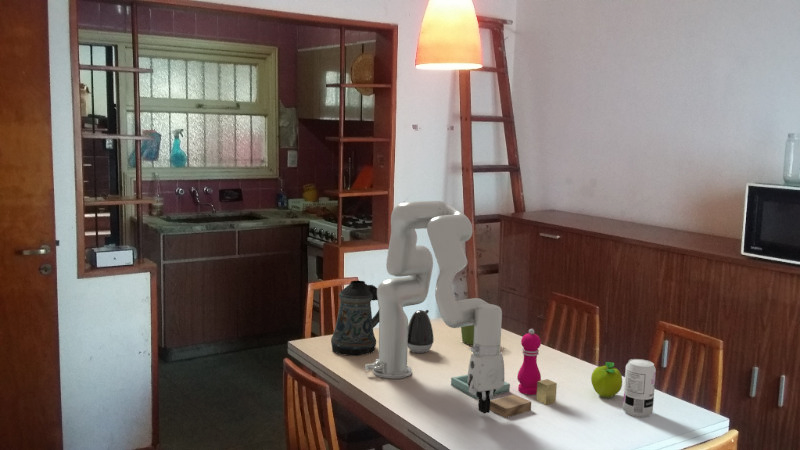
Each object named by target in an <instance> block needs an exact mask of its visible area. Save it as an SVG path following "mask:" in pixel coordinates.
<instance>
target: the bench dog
mask: <svg viewBox="0 0 800 450" xmlns="http://www.w3.org/2000/svg"><path fill="white" fill-rule="evenodd" d="M557 386H558V385H557V382H555V381H552V380H550V379H547V378H546V379H541V381H538V382H537V394H536V401H537V402H538V403H541V404H543V405H545V406H547V405H551V404H552V405H553V404H555V403H557V388H558V387H557Z"/></svg>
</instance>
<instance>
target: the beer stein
mask: <svg viewBox="0 0 800 450" xmlns="http://www.w3.org/2000/svg"><path fill="white" fill-rule="evenodd" d="M377 288H378V287H377V286H375V285H373V284H367V283H366V281H364V280H351V281H350V283H349V284H348V285H347V286H345V287H344V288H343V289H341V291H339V293H338V297H339V302H340V303H339V307H338V311H337V312H338V313H337V319H336V323H335V327H334V331H333V334H332V336H331V339H330V342H331V348H332V351H333V353H335V354H337V355H341V356H342V355H343V356H347V357H348V356H351V357H352V356H353V357H354V356H355V357H357V356H358V357H359V356H360V357H361V356H366V355H369V354H372V353H374V352H375V350H376V345H377V339H376V336H375V333H374V328H375V327H376V326H377V325H378V324H379V309H378V310H377V311H376V313H375V314H374V316H373V315H372V314H373V313H372V306H371V305H372V303H371V302H373V301H378V299H377ZM373 351H374V352H373Z"/></svg>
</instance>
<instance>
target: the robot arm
mask: <svg viewBox="0 0 800 450" xmlns="http://www.w3.org/2000/svg"><path fill="white" fill-rule="evenodd" d="M421 229H422V230H423V229H424V230H425V229H426V231H427V235H428V238H429V241H430V245H431V248H432V250H433V253H434V256H435V259H436V262H437V264H438V267H439V274H438V276H437V279H436V282H435V289H434V290H435V294H434V295H435V303H436V304H437V305H436V306H437V309H438V312H439V313H440V317H441V318H442V321H443V322H444V324H445V325H446V326H448V327H449V328H453V329H458V328H461V327H465V326H470V325H474V343H473V345H472V346H471V347H470V351H471V354H470V358H469V363H468V371H467V375H468V387H469V391H468V392H469V394H471V395H476V396H477V397H478V403H477V404H478V405H477V407H478V408H477V409H478V411H479V412H481V413H482V414H490V412H491V410H490V401H491V400H493V397H494V395H493V394H494V393H495V391H497V390H499V389H501V387H503V385H504V381H505V361H504V355H503V353H502V352H501V346H502V345H501V341H502V340H501V339H502V323H503V322H502V320H503V311H502V308H501V307H500V306H499V305H496V304H492V303H488V302H486V300H484V299H481V298H478V297H475V298H474V297H473V298H467V299H466V298H465V299H461V300H460V299H459V300H456V298H455V295H454V292H453V281H454V278H455V277H456V274H458V273H459V272H461V271H462V270H463V269H464V268H466V266H467V265H468V257H467V256H466V253H465V250H464V247H463V244H462V243H463V242H468V241H469V240H470V239H471V237H472V236H473V231H474V229H473V224H472V222H471V220H470V218H469V217H468V216H467V215H465V214H464V213H463V212H461V211H460V210H458V209H457V208H455V207H453V206H452V205H450V204H448V203H447V202H444V201H441V200H428V201H427V200H425V201H424V200H423V201H419V200H417V201H408V202H401V203H399V204H397V205H395V207H394V208H393V210H392V212H391V216H390V238H389V244H388V251H387V258H386V267H385V268H386V271H387V273H388V274H389V275H390V276H392V277H393V278H388V279H385V280H384V281H382V282H380V283H379V284H378V286H377V287H376V288H377V299H378V300H377V305H378V310H379V323H378V324H379V326H378V358H375V361H374V362H373V363H366V364H365V365H364V369H365V370H366V371H370V370H372V371H373V374H374V375H375V376H377V377H380V378H383V379H403V378H404V379H405V378H408V377H409V376H411V375H412V370H413V369H412V368H411V367H410V366H409V365H408V350H409V348H408V325H409V319H408V316H407V314H406V311H404V309H403V308H404V307H409V306H415V305H420V304H422V303H424V302H425V300H427V298H428V294H429V289H430V285H431V279H432V273H433V267H434V258H433V254H432V252H431V250H430V249H429V248H428V247H426V246H425V245H418V244H417V242H418V234H417V231H416V230H421Z"/></svg>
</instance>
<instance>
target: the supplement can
mask: <svg viewBox="0 0 800 450" xmlns="http://www.w3.org/2000/svg"><path fill="white" fill-rule="evenodd" d="M656 373H657V369H656V367H655V363H653V362H652V361H651V360H646V359H642V358H641V359H640V358H631V359H629V360H628V362H627V363H626V365H625V373H624V387H623V388H624V389H623V399H622V401H623V402H622V404H623V405H622V409H623V411H624V412H625V413H626V414H627V415H628V416H629V415H630V416H632V417H634V418H635V417H636V418H648V417H650V416H651V415H652V414H653V411H654V401H655V399H654V398H655V387H656Z"/></svg>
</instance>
